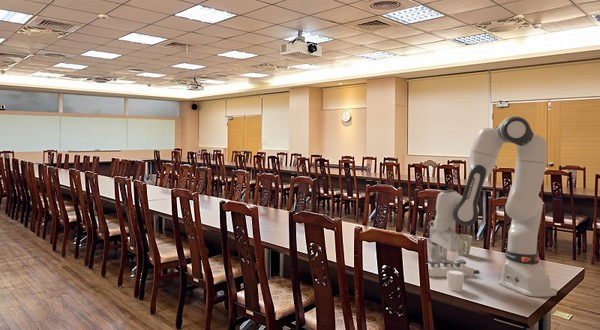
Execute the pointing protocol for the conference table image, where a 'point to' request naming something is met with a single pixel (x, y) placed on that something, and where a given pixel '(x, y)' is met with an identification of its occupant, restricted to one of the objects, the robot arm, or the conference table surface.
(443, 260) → the plate
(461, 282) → the shot glass
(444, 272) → the rocker switch panel
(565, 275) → the conference table surface
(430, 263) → the block
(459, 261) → the rocker
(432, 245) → the french press
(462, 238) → the mug
